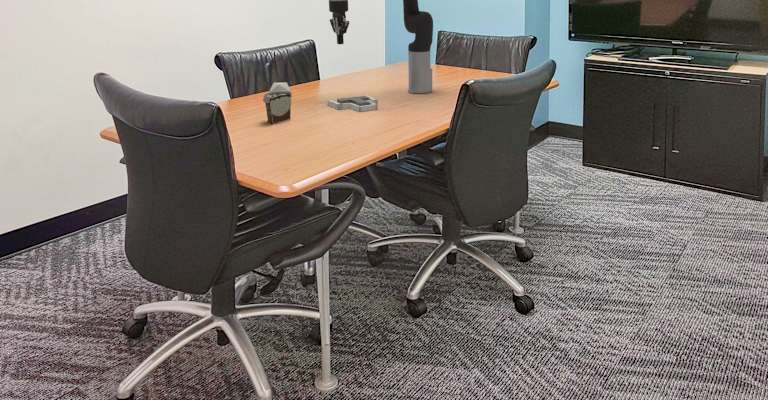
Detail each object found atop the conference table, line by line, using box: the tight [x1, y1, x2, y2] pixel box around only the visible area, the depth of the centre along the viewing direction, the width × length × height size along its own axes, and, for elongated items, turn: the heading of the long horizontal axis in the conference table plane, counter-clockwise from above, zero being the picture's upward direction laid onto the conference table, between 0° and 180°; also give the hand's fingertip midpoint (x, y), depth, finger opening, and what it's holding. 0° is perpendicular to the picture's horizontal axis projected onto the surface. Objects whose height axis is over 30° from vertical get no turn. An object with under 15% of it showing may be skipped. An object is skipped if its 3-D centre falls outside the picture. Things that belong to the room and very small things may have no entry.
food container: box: [262, 91, 293, 125], centre depth 272 cm, size 12×6×10 cm, turn 145°
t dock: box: [327, 94, 379, 113], centre depth 294 cm, size 17×18×2 cm
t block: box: [336, 95, 370, 106], centre depth 293 cm, size 12×12×3 cm
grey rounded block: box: [268, 82, 293, 96], centre depth 303 cm, size 8×9×10 cm
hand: (340, 44), depth 302 cm, fingers closed
